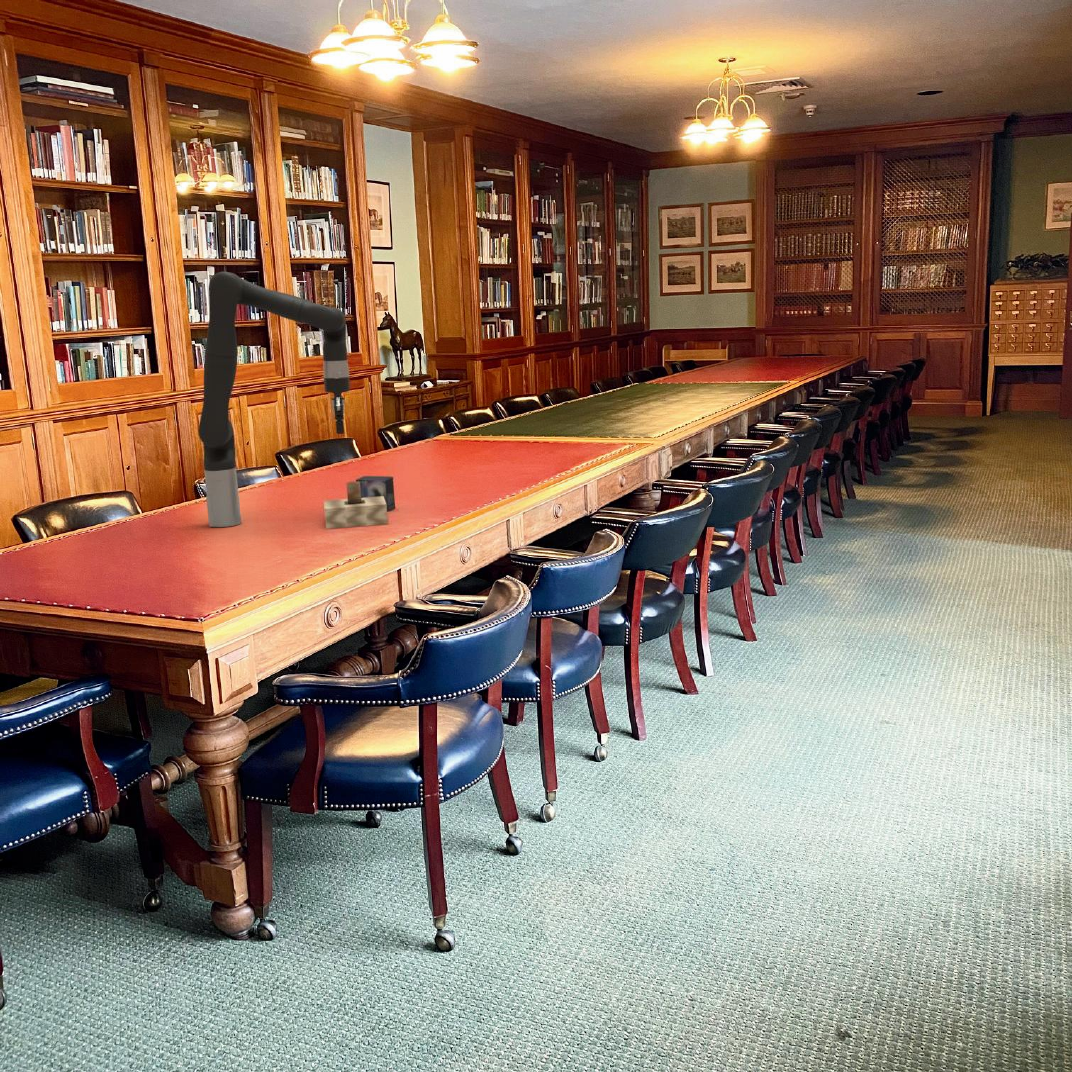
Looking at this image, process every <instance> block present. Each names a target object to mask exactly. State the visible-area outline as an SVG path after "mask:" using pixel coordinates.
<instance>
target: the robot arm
mask: <svg viewBox="0 0 1072 1072" xmlns="http://www.w3.org/2000/svg"><path fill="white" fill-rule="evenodd" d="M208 301H209V302H208V305H209V307H208V309H209V312H208V313H209V314H208V315H209V319H208V326H207V327H208V328H207V334H206V342H205V350H204V360H203V361H204V363H203V402H202V409H201V415H200V420H199V425H198V433H197V434H198V436H199V439H200V441H201V442H202V444H203V462H202V463H203V471H204V479H205V480H204V481H205V482H204V483H205V488H206V489H205V491H206V496H205V498H206V507H207V508H206V509H207V517H208V527H209V528H226V527H234V526H238V525H241V524H242V515H241V507H240V505H241V503H240V496H239V485H238V477H237V476H238V475H237V466H236V457H237V456H236V445H235V443H236V442H235V432H234V427H233V424H232V422H231V421H230V417H229V415H230V413H229V411H230V409H229V408H230V407H229V406H230V401H231V395H232V392H233V389H234V388H233V387H234V384H235V379H236V373H237V366H238V357H239V356H238V353H239V351H238V339H237V332H236V314H237V307H238V305H240V306H249V307H253V308H257V309H260V310H263V311H266V312H269V313H271V314H273V315H275V316H279V317H282V319H283V318H284V319H287V320H290V321H293V322H296V323H300V324H304V325H309V326H312V327H313V328H317V329H320V330H322V331H323V343H322V354H323V355H322V357H323V366H322V368H323V369H322V370H323V382H324V383H323V384H324V385H323V386H324V391H325V393H327V394H328V393H329V394H331V393H333V397H331V405H332V414H333V415H334V421H335V428H336V429H335V430H336V432H335V433H336V434H337V435H343V434H344V433H345V427H344V426H345V425H344V421H345V417H344V414H345V413H346V412H345V404H346V403H345V402H346V399H345V397H343V396H342V394H343V393H347V392H351V384H350V381H351V380H350V370H349V369H350V368H349V362H348V352H347V351H348V350H347V349H348V348H347V342H346V340H347V321H346V320H347V319H346V315H345V314H344V312H343V310H341V309H340V308H337V307H330V306H327V305H322V304H319V303H314V302H313V301H311V300H308V299H305V298H303V297H299V296H296V295H293V294H290V293H289V294H288V293H286V292H282V291H281V292H280V291H278V290H277V291H276V290H272V289H269V288H266V287H262V286H259V285H257V284H255V283H253V282H250V281H248V280H246V279H244V278H242V277H240V276H238V275H237V274H236V273H233V272H228V271H219V272H216V273H215V274H214V275H213V276H211V278H210V281H209V283H208Z"/></svg>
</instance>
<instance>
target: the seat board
mask: <svg viewBox="0 0 1072 1072" xmlns="http://www.w3.org/2000/svg"><path fill="white" fill-rule="evenodd" d="M361 500H362V504H351V505H348V498H343V499H330V500H327V499H326V500H323V504H324V506H323V507H324V509H323V510H324V520H325V529H326V530H330V529H342V528H343V529H344V528H354V527H367V526H381V525H382V526H383V525H388V524H389V523H388V512H387V506H386V502H385V499H384V496H380V497H366V498H361Z"/></svg>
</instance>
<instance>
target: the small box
mask: <svg viewBox="0 0 1072 1072" xmlns="http://www.w3.org/2000/svg"><path fill="white" fill-rule="evenodd" d="M355 482H360V489H361V498H366V497H380V496H384V499H385V502H386V506H387V513H388V512H391V511H393V510H395V509H396V502H395V500H396V499H395V486H394V476H388V475H387V476H386V475H383V476H382V475H375V476H374V475H364V476H363V475H362V476H361V477H358V478H356V479H355Z"/></svg>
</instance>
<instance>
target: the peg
mask: <svg viewBox="0 0 1072 1072" xmlns="http://www.w3.org/2000/svg"><path fill="white" fill-rule="evenodd" d="M346 495H347V499H348V505H351V504H362V500H361V489H360V482H356V481H349V482H346Z"/></svg>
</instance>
